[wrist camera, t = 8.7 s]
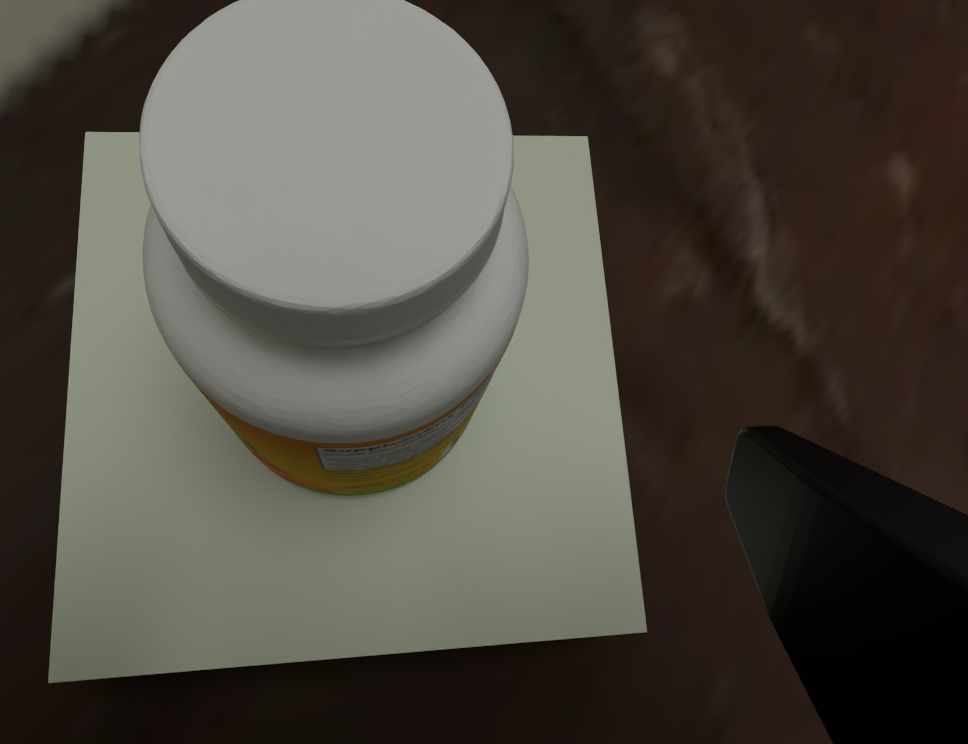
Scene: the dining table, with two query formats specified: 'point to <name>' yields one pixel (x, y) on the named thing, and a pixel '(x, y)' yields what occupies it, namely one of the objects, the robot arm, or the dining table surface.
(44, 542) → the dining table surface
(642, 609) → the plinth
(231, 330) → the supplement bottle
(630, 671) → the dining table surface
